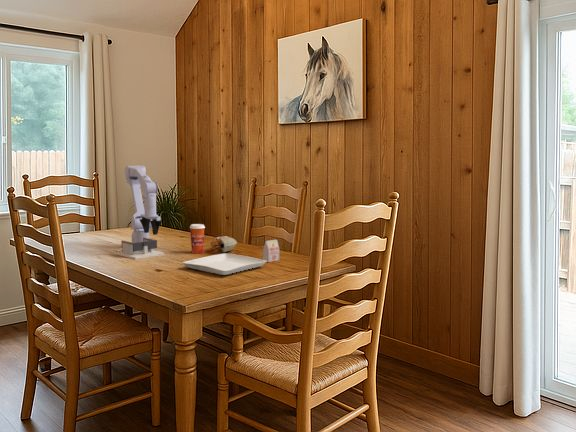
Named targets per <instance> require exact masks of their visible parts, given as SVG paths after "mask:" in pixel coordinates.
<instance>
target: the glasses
mask: <svg viewBox="0 0 576 432" xmlns="http://www.w3.org/2000/svg"><path fill="white" fill-rule="evenodd" d="M144 240H149V241H144ZM122 243H127V244H132V245H133V252H135V251H142V250H143V246H148V249H157V248H158V240H157V239H153V238H150V237H149V238H143V242H137V243H132V241H126V240H124V239H123V240H121V243H120V244H121V250H123V244H122Z"/></svg>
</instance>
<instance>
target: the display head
mask: <svg viewBox="0 0 576 432" xmlns="http://www.w3.org/2000/svg"><path fill="white" fill-rule="evenodd" d="M144 241H149V240H144ZM122 244H123V249H122V251H119V252H117V253H116V254H117V256H121V257H125V258H129V259H133V260H141V259H147V258H153V257H157V256H158V257H159V256H164V255H165V253H164V252H163V251H157V250H155V249H156V248H155V249H148V246H143V250H142V251H135V252H133V245H132V244H127V243H122ZM122 244H121V245H122Z"/></svg>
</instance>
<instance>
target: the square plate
mask: <svg viewBox="0 0 576 432" xmlns="http://www.w3.org/2000/svg"><path fill="white" fill-rule="evenodd" d="M266 263H267V261H266V260H263V258H262V259H260V258H256V257H253V256H248V255H241V254H234V253H226V252H223V253H218V254H211V255H208V256H204V257H199V258H194V259H189V260H187V261H181V264H183V265H184V266H185V267H186V268H189V269H192V270H196V271H202V272H205V273H210V274H214V273H215V274H216V275H221V276H226V275H233V274H237V273H241V272H245V271H244V270H246V271H248V269H250V270H253V269H255V268H259V267H262V266H263V265H265V264H266ZM252 268H253V269H252ZM240 271H241V272H240ZM236 272H237V273H236ZM232 273H233V274H232Z"/></svg>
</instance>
